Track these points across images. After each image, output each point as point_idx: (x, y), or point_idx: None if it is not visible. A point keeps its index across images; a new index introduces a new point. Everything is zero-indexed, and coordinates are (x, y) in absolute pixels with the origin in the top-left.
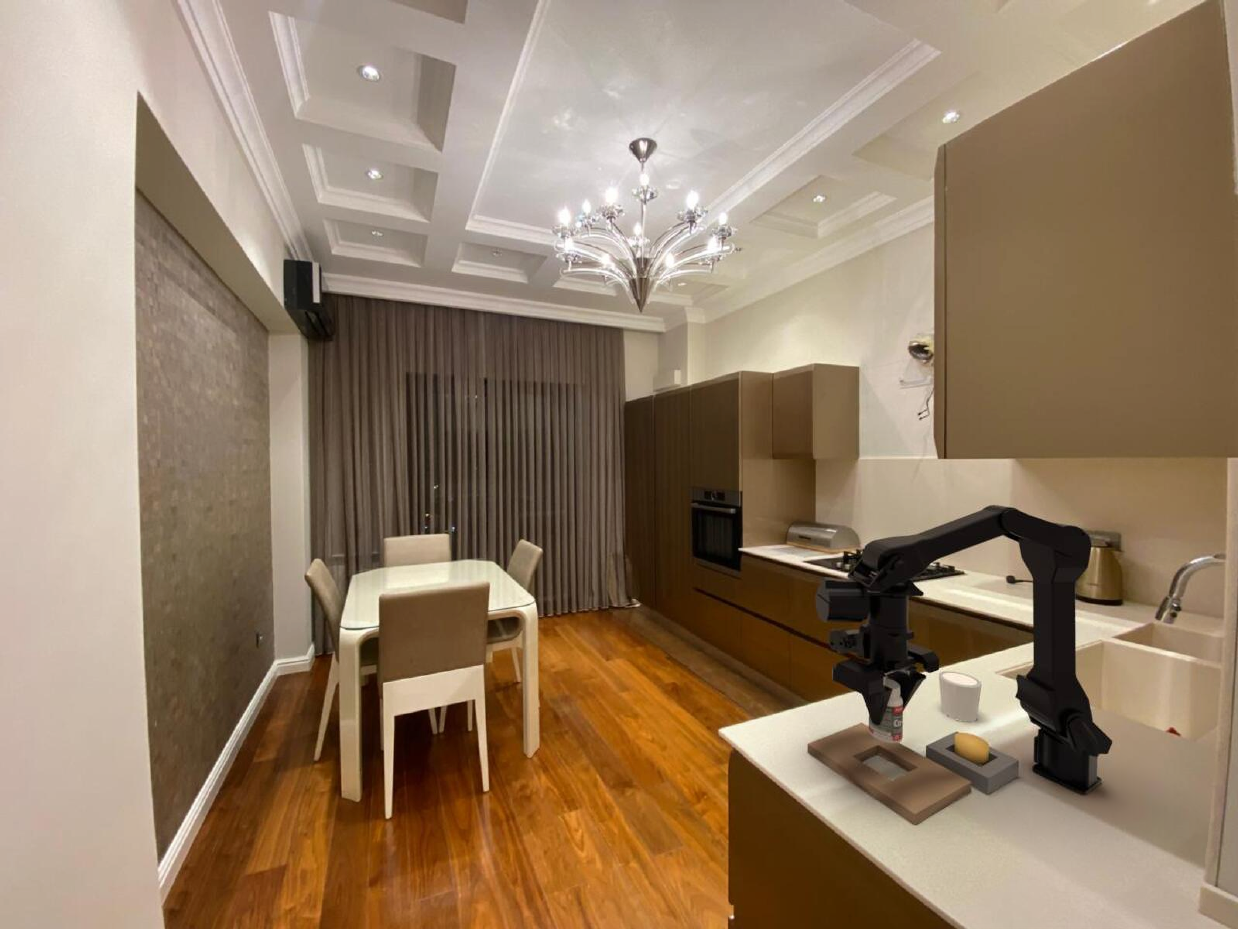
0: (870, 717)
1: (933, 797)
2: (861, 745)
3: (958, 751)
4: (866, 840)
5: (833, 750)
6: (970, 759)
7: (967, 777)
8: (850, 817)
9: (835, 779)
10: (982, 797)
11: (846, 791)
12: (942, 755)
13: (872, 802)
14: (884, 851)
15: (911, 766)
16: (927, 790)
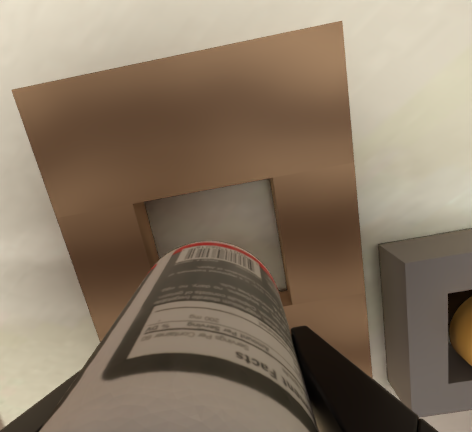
0: (71, 378)
1: None
2: (209, 163)
3: (465, 328)
4: (5, 400)
5: (86, 158)
6: (460, 354)
7: (393, 354)
8: (9, 347)
9: (52, 233)
10: None
11: (53, 279)
12: (404, 311)
13: (94, 326)
14: None
15: (288, 283)
16: None
